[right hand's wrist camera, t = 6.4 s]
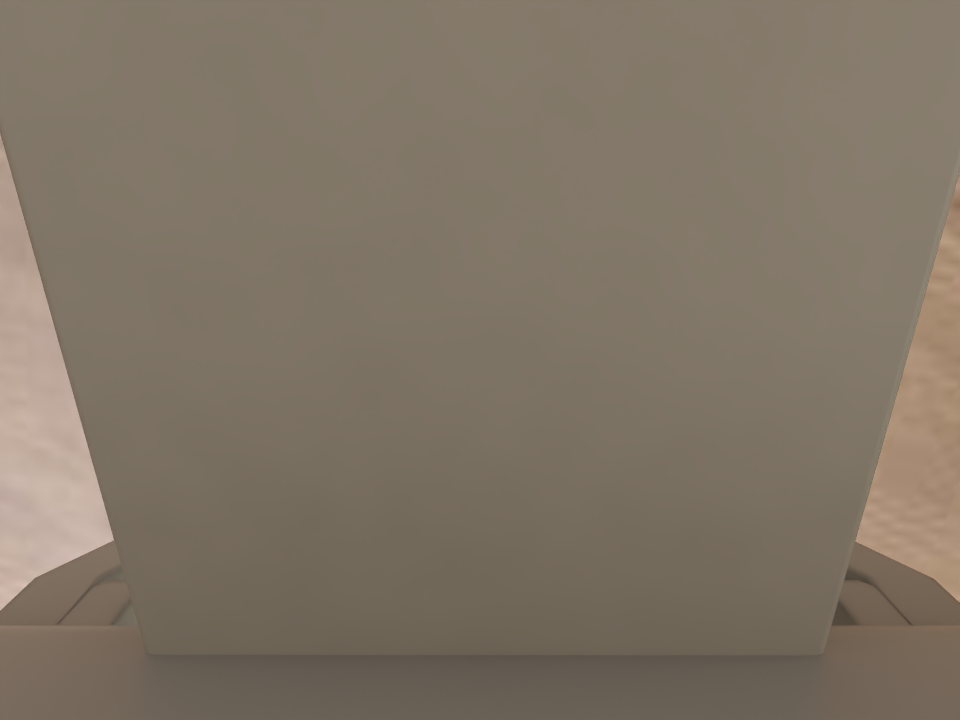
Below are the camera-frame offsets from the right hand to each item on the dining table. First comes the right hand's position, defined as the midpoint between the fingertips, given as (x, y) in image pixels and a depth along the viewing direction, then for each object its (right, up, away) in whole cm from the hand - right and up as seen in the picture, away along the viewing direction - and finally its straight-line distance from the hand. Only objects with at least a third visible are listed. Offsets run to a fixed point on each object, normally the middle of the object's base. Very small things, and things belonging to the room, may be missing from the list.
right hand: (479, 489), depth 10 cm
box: (0, +11, 0) cm, 11 cm away
